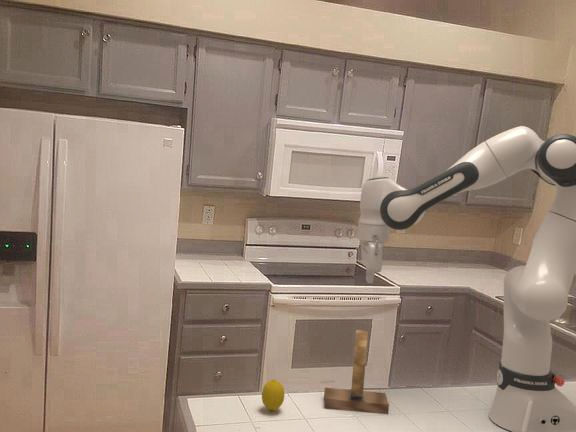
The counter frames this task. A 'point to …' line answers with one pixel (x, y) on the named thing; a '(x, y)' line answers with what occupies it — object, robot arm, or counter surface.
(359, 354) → the tan wooden peg
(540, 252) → the robot arm
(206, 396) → the counter surface
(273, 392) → the lemon
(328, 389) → the brown wooden block
